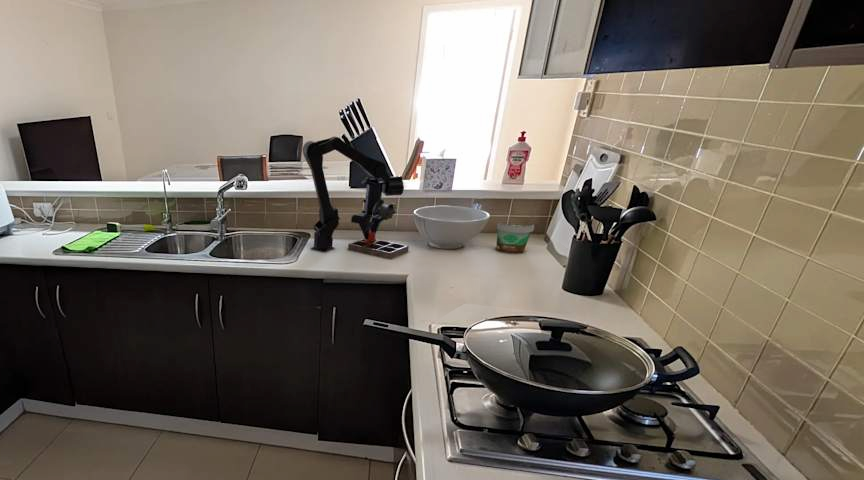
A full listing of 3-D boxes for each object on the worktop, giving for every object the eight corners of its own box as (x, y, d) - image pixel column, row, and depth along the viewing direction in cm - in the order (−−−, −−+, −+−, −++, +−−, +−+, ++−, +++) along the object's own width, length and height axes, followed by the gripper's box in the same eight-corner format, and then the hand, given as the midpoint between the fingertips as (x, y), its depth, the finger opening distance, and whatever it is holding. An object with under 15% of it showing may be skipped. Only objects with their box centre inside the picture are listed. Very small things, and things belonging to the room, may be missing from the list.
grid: (347, 249, 193) (348, 243, 191) (366, 242, 200) (367, 237, 199) (389, 259, 181) (390, 253, 179) (408, 251, 188) (408, 245, 187)
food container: (492, 253, 183) (498, 225, 179) (491, 248, 188) (497, 221, 184) (529, 255, 179) (536, 227, 174) (528, 251, 184) (535, 223, 179)
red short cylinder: (362, 240, 195) (362, 232, 193) (368, 238, 197) (368, 230, 196) (371, 242, 192) (371, 234, 191) (376, 240, 195) (377, 232, 193)
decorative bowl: (398, 247, 194) (401, 215, 188) (425, 232, 211) (430, 203, 205) (468, 259, 178) (475, 225, 172) (492, 242, 196) (499, 210, 190)
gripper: (378, 203, 176) (373, 246, 183) (406, 195, 187) (401, 236, 195) (351, 199, 183) (348, 241, 191) (380, 191, 194) (376, 231, 202)
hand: (369, 237), depth 194 cm, fingers closed on red short cylinder, 4 cm apart
